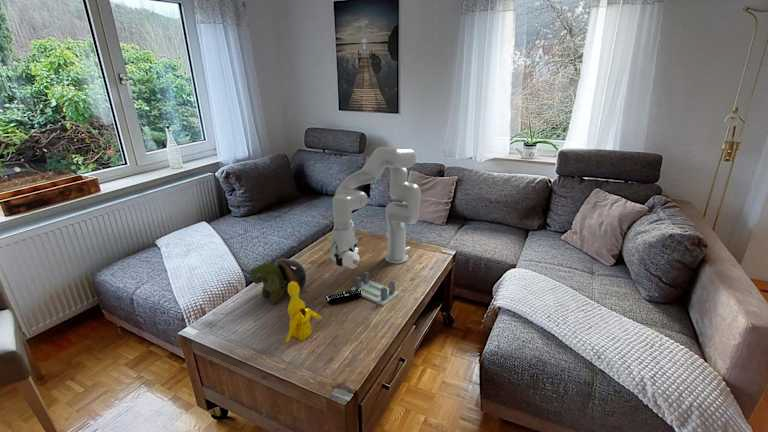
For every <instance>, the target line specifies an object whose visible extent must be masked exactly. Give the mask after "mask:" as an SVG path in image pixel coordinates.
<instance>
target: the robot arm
mask: <svg viewBox="0 0 768 432" xmlns="http://www.w3.org/2000/svg"><path fill="white" fill-rule="evenodd" d="M416 161H417V154H416V152H415V150H413V149H410V148H401V147H393V146H387V147H386V146H379V147H377V148H376V149H375V150H373V152H372V154H371V155H370V157H369V158H368V159H367V161H366V162H365V163H364V165H363V167H362V168H361V169H359V170H356V171H355V172H353V173H352V174H349V175H348V176H347V177H345V178H344V179H343V180H342V181H341V182H340V185H339V186H338V187H337V189H336V191H335V194H334V196H333V197H332V213H333V228H332V230H331V231H332V232H331V249H330V251H329V254H330V255H331V254H332V255H333V256H334V257H336V262H335V264H336V266H339V267H343V265H342V258H341V255H342V252H343V251H345V250H347V249H349V250H348V251H351V252H354V251H355V247H357V244H358V242H359V239H358V238H357V237H356V233H355V227H354V226H353V225H352V222H354V221H353V220H354V219H353V211H356V210H360V209H362V208H364V207H365V206H366V205H367V203H368V200H369V197H368V195H367V193H366V192H364V191H362V190H356V188H358V187H360V186H364V185H367V184H371V183H372V184H373V183H375V182H377V181H378V180H379V179H380V177H381V175H382V174H383V173H384V171H385V169H387V168H388V169H389V173H390V175H389V176H390V179H389V196H390V198H391V199H393V200H396V201H390V202H389V203H388V204H387V205H386V207H385V211H384V212H385V218H386V221H387V222H386V224H387V225H386V226H387V253H385V254H384V260H385V261H386V262H387V263H390V264H395V265H396V264H397V265H398V264H403V263H405V262H407V261H408V260H409V255H408V254H407V252H408V251H410V249H411V248H410V246H407V245H406V241H407V240H406V235H407V234H406V233H407V227H406V225H405V224H407V225H414V224H416V223H417V222H418V220H419V218H420V209H421V200H422V199H421V198H422V197H421V196H422V192H421V191H422V190H421V187H420V186H419V185H418V184H416V183H412V182H408V169H410V168H411V167H413V166H414V165H415V164H416V163H417V162H416ZM407 168H408V169H407ZM403 202H404V203H403ZM338 252H339V255H338Z"/></svg>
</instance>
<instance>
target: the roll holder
mask: <svg viewBox="0 0 768 432" xmlns="http://www.w3.org/2000/svg"><path fill="white" fill-rule="evenodd" d="M355 289H358V290H361V295H362V296H361V295H360V296H361V297H363V298H365V299H367V300H368V301H369V300H370V301H372V302H374V303H376V304H378V305H381V306H383V307H384V306H386V305H387V304H389V303H390V302H391V301H393V300H394V299H395V298H396V297H398V296H400V293H399V291H396V283H395V281H389V282H388V287H387V286H385V285H383V284H380V283H377V282H375V281H373V280H370V272H368V271H364V272H362V278H361V276H356V277H354V286H353V287H352V288H351V289H350V291H351V290H355Z"/></svg>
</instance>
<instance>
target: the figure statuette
mask: <svg viewBox="0 0 768 432" xmlns="http://www.w3.org/2000/svg"><path fill="white" fill-rule="evenodd" d="M300 292H301V291H300V288H299V285H298V283H297V282H294V281H292V282H290V283H288V288H287V293H288V295H289V297H290V300H289V302H288V305H287V306H288V307H287V313H288V315H289V324H288V326H289V328H288V329H289V331H288V334H287V336H286V339H285V343H288V342H289V341H290V339H291V338H292V337H294V338H297V339H298V341H305V340H306V339H307V338H309V336H310V335H311V334H312V332H313V331H312V326H311V323H310V320H311V317H312V318H314V319H316V320H321V319H322V318H323V317H322V316H321V315H320V314H318V313H316V312H315V311H313V310H312V309H310V308H306V303H305V301H303V300H302V299H301V298H300Z"/></svg>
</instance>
